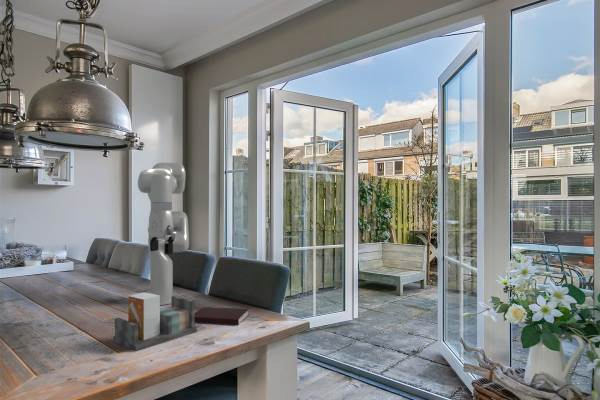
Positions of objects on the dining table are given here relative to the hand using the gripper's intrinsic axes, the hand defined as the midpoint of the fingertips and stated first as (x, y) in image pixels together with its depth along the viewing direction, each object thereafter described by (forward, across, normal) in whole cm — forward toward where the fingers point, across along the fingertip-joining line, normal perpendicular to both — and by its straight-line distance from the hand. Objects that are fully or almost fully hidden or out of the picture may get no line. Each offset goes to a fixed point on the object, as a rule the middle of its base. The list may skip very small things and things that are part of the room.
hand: (161, 252), depth 144 cm
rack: (+25, +14, -11) cm, 31 cm away
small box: (+24, +14, -15) cm, 32 cm away
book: (+26, +16, +15) cm, 34 cm away
